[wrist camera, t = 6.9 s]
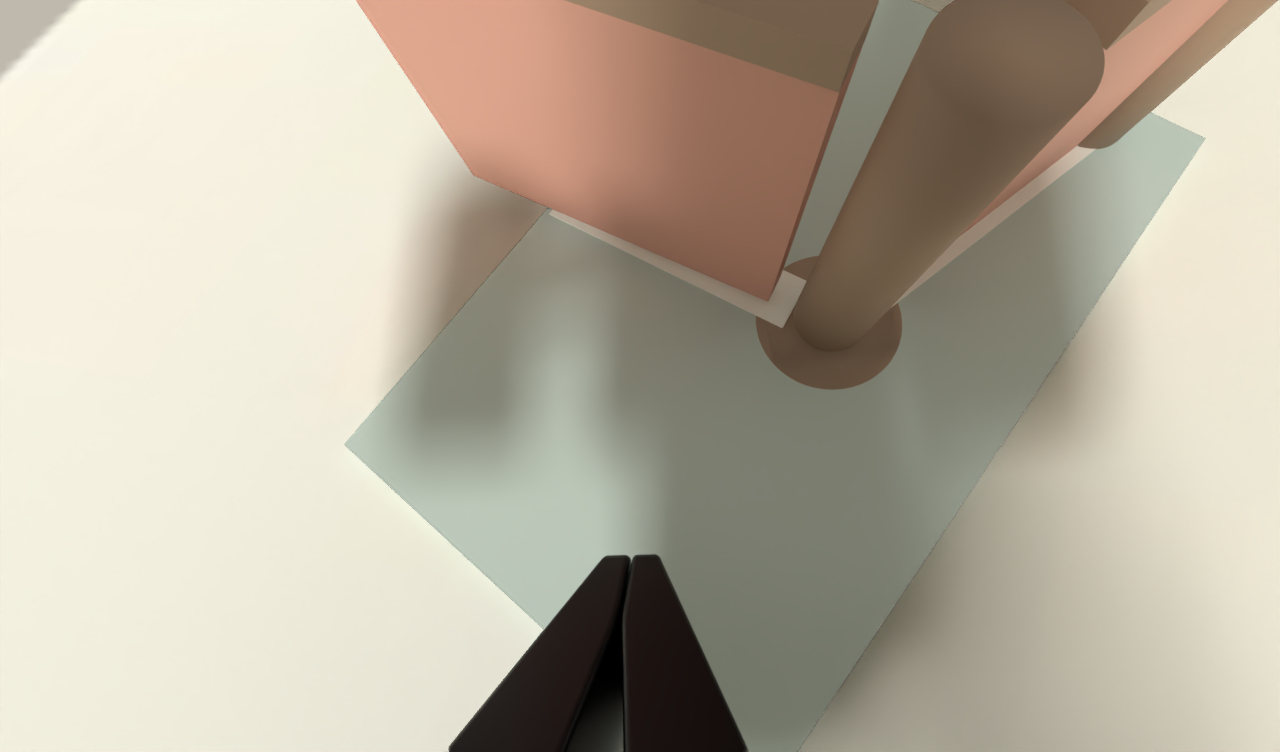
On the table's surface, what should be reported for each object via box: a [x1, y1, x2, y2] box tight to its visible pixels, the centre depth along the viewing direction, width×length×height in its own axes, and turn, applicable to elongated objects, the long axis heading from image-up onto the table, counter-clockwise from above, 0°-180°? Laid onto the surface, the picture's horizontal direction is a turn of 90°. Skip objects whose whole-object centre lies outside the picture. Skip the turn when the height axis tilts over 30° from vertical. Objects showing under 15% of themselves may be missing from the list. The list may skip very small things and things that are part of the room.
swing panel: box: [356, 0, 1105, 351], centre depth 12 cm, size 13×2×9 cm, turn 62°
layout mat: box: [344, 0, 1206, 752], centre depth 16 cm, size 14×22×1 cm, turn 142°
